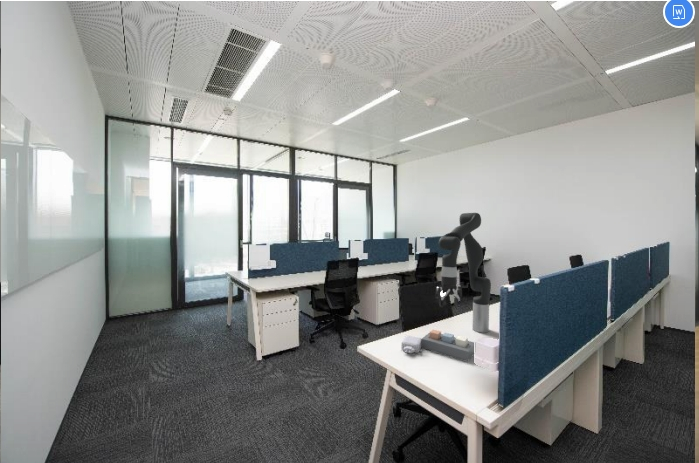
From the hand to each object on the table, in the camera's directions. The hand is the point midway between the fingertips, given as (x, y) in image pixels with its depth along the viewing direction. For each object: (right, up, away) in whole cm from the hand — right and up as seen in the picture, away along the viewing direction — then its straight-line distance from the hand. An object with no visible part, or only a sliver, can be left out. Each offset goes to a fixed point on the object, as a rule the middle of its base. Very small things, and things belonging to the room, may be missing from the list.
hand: (448, 306), depth 148 cm
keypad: (+1, -24, +3) cm, 24 cm away
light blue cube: (+1, -21, +3) cm, 21 cm away
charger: (-19, -25, +3) cm, 31 cm away
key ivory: (+6, -21, -1) cm, 22 cm away
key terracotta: (-5, -21, +8) cm, 23 cm away
